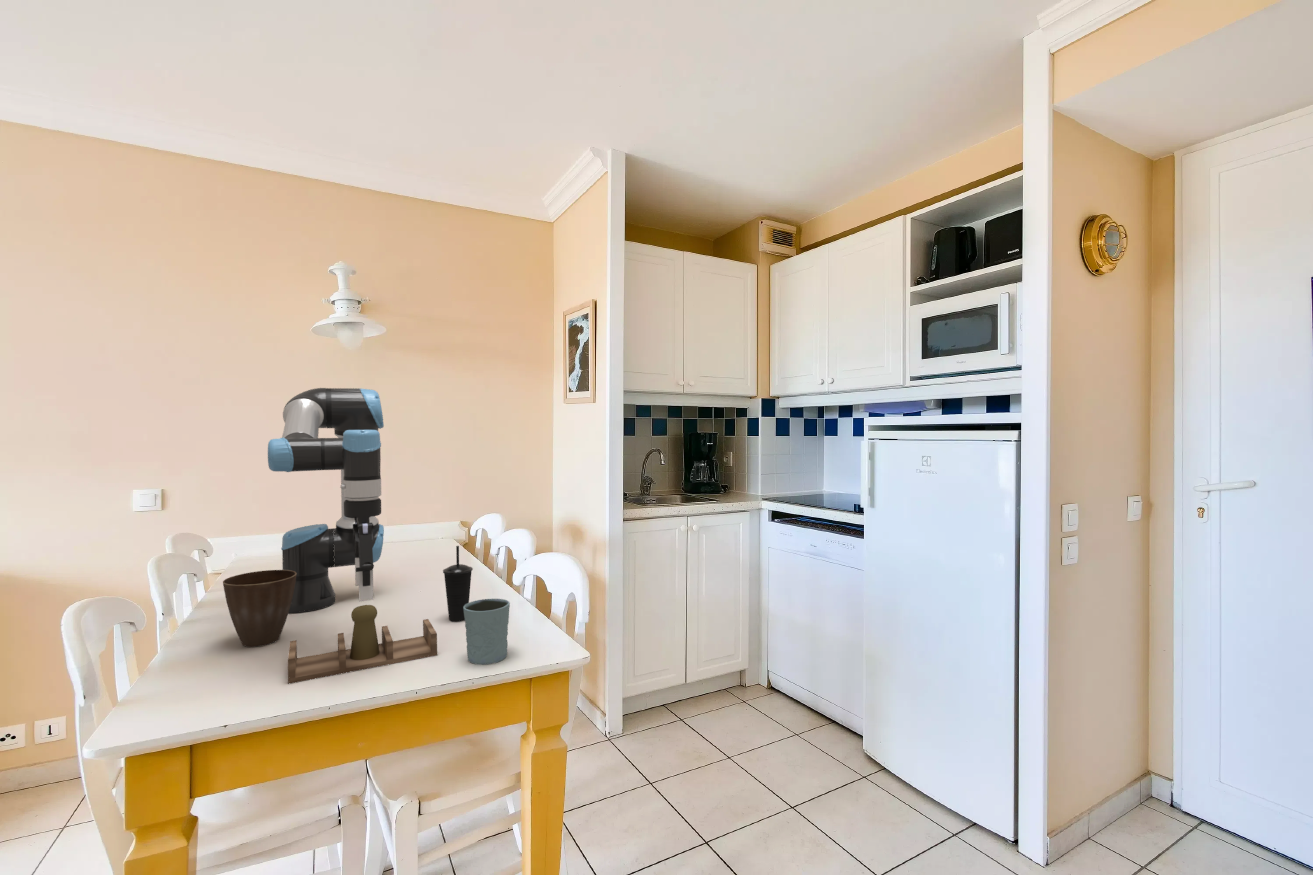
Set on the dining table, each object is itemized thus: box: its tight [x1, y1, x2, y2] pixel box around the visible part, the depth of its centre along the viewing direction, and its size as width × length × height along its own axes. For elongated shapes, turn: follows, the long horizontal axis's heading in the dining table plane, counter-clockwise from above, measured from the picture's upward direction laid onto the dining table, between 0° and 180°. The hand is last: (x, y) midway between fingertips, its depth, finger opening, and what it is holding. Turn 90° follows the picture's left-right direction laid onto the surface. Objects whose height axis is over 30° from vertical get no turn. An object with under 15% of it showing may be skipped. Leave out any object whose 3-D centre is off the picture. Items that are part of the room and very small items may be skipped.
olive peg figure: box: [350, 604, 380, 660], centre depth 131 cm, size 6×6×11 cm
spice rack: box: [287, 618, 438, 685], centre depth 131 cm, size 12×29×5 cm, turn 120°
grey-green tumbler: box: [463, 598, 511, 666], centre depth 132 cm, size 10×10×12 cm
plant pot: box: [222, 569, 297, 648], centre depth 143 cm, size 15×15×16 cm
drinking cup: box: [442, 545, 474, 623], centre depth 158 cm, size 8×8×20 cm
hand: (364, 592), depth 131 cm, fingers open, 13 cm apart
